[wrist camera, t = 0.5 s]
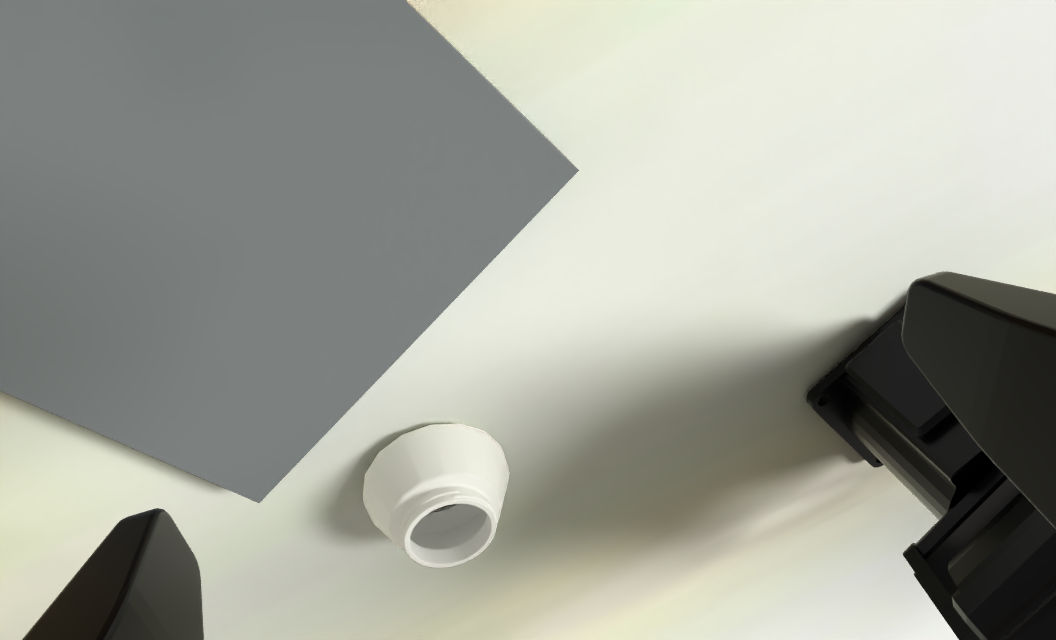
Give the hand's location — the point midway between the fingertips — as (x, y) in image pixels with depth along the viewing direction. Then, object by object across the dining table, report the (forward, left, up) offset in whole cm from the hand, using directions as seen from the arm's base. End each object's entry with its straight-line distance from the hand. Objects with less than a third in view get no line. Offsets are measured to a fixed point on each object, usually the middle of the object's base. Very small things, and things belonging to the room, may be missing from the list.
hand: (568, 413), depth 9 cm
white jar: (-10, +9, -14) cm, 19 cm away
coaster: (+2, +5, -13) cm, 14 cm away
